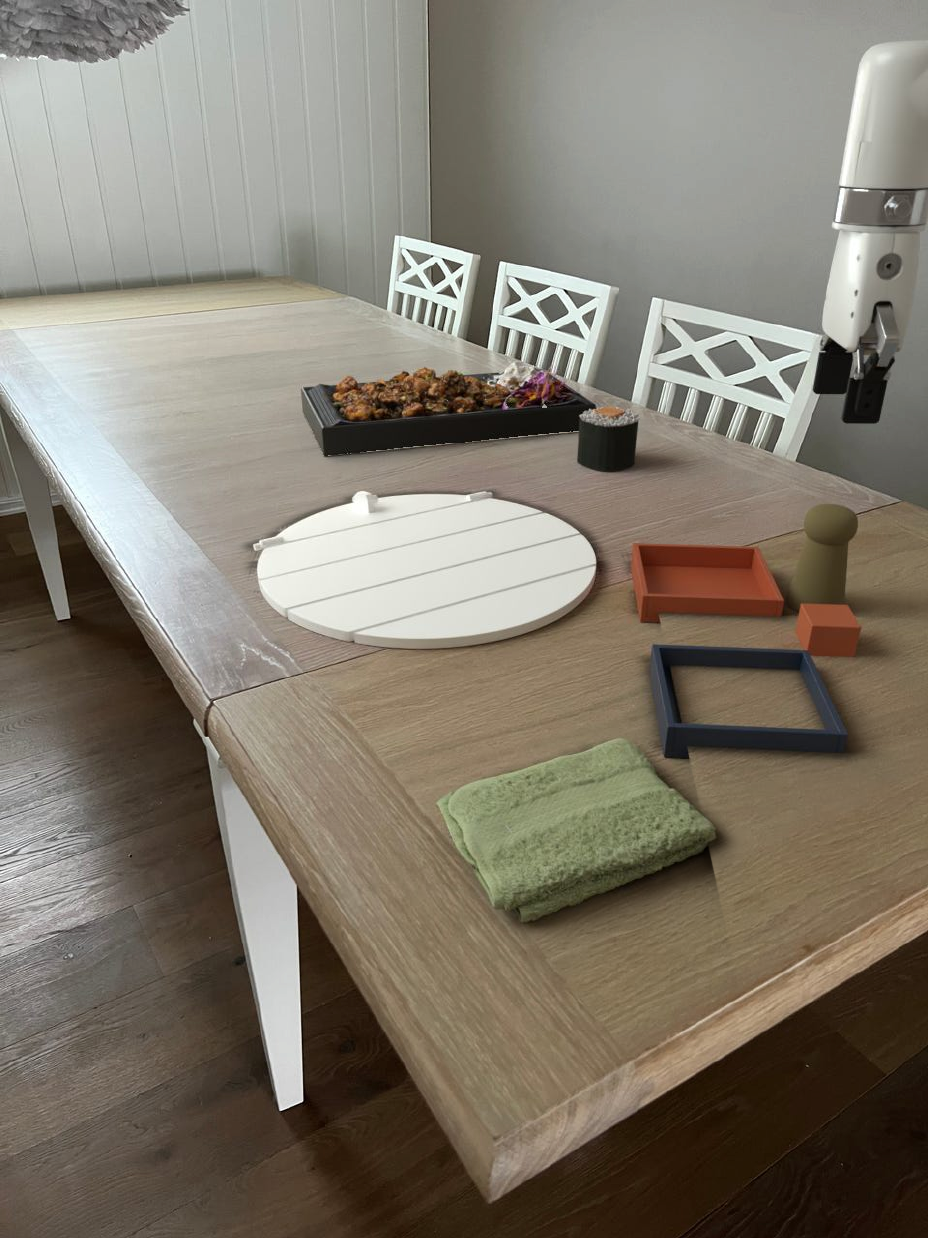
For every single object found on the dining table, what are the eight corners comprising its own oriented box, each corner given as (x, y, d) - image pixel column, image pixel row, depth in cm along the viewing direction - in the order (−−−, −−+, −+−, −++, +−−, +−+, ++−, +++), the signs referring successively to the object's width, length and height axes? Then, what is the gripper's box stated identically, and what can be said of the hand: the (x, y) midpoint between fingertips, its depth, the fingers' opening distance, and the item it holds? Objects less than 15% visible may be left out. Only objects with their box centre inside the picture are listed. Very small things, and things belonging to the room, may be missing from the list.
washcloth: (427, 814, 70) (426, 781, 68) (626, 757, 76) (630, 725, 74) (501, 939, 59) (502, 902, 58) (726, 861, 66) (732, 826, 64)
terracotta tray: (754, 571, 107) (758, 546, 105) (779, 627, 95) (784, 600, 94) (630, 567, 108) (632, 542, 106) (640, 622, 96) (642, 595, 95)
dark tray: (802, 678, 86) (808, 649, 85) (840, 765, 75) (848, 734, 73) (648, 672, 88) (651, 644, 86) (663, 757, 76) (667, 726, 75)
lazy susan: (211, 538, 115) (208, 512, 114) (479, 481, 133) (479, 458, 131) (342, 689, 85) (340, 657, 83) (667, 590, 102) (670, 561, 101)
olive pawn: (838, 621, 96) (860, 523, 91) (779, 608, 99) (796, 512, 93) (849, 598, 101) (870, 503, 95) (792, 586, 103) (809, 493, 98)
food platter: (542, 392, 174) (544, 336, 169) (594, 430, 153) (598, 368, 148) (302, 412, 163) (297, 353, 158) (324, 456, 142) (318, 389, 137)
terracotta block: (839, 644, 92) (848, 604, 90) (852, 668, 88) (861, 627, 86) (792, 642, 92) (800, 603, 90) (803, 666, 88) (812, 625, 86)
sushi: (567, 461, 140) (570, 409, 136) (604, 450, 144) (608, 399, 141) (607, 475, 134) (612, 422, 130) (644, 463, 139) (649, 411, 135)
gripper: (967, 220, 71) (917, 435, 80) (891, 201, 87) (856, 383, 95) (867, 221, 72) (828, 435, 80) (809, 201, 87) (781, 383, 95)
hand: (843, 407), depth 87 cm, fingers open, 9 cm apart
